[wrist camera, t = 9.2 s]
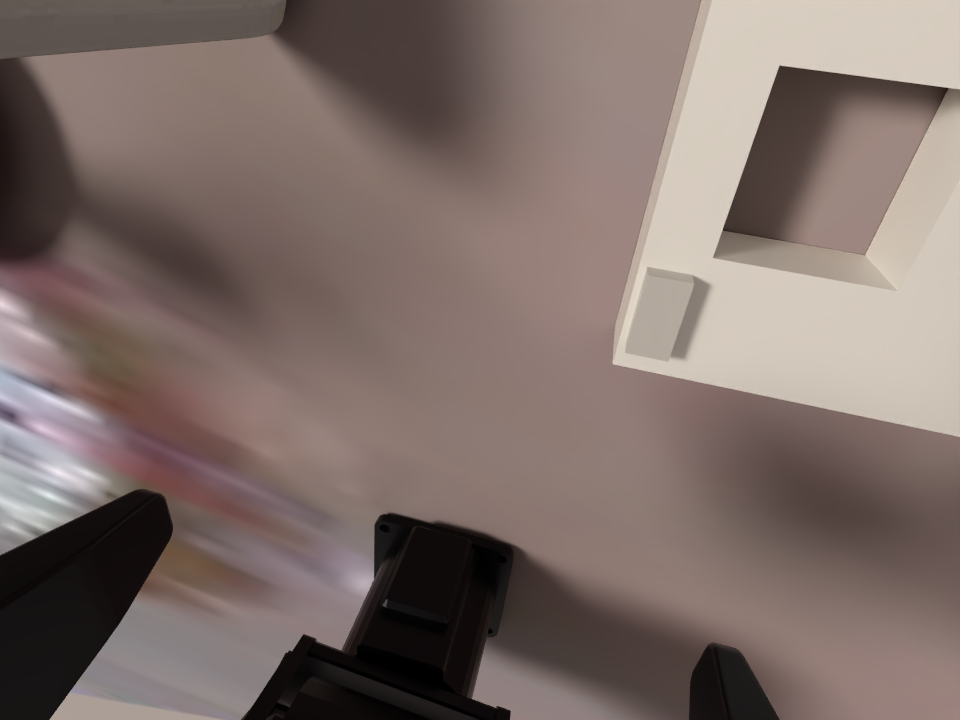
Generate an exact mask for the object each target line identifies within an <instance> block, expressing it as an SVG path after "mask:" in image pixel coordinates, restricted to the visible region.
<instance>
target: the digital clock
mask: <svg viewBox="0 0 960 720" xmlns="http://www.w3.org/2000/svg"><path fill="white" fill-rule="evenodd" d="M286 1H287V0H0V59H6V58H18V57H30V56H41V55H53V54H65V53H77V52H89V51H101V50H113V49H125V48H137V47H149V46H160V45H172V44H184V43H196V42H208V41H220V40H232V39H244V38H252V37H259V36H264V35H267V34H270V33H272V32H273V31H275V30H277V29H278V27H279V26H280V25H281V23H282V22H283V18H284V13H285V7H286Z"/></svg>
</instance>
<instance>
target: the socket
mask: <svg viewBox="0 0 960 720" xmlns="http://www.w3.org/2000/svg"><path fill="white" fill-rule="evenodd" d="M779 65H781V66H788V67H796V68H803V69H811V70H818V71H826V72H833V73H841V74H848V75H856V76H863V77H871V78H878V79H886V80H893V81H901V82H908V83H916V84H923V85H931V86H938V87H946V88H948V90H947V92H946V94H945V96H944V98H943V100H942V102H941V104H940V106H939V108H938V110H937V112H936V114H935V116H934V118H933V120H932V122H931V124H930V126H929V128H928V130H927V132H926V134H925V136H924V138H923V140H922V142H921V144H920V146H919V148H918V150H917V152H916V154H915V156H914V158H913V160H912V162H911V164H910V166H909V168H908V170H907V172H906V174H905V176H904V178H903V180H902V182H901V184H900V186H899V188H898V190H897V192H896V194H895V196H894V198H893V200H892V202H891V204H890V206H889V209H888V211H887V213H886V215H885V217H884V219H883V221H882V223H881V225H880V227H879V229H878V231H877V233H876V235H875V237H874V239H873V241H872V243H871V245H870V247H869V249H868V251H867V253H866V255H860V254H855V253H849V252H843V251H837V250H831V249H826V248H820V247H814V246H808V245H803V244H797V243H791V242H785V241H780V240H774V239H768V238H762V237H756V236H751V235H745V234H739V233H733V232H728V231H722V230H723V227H724V224H725V221H726V219H727V216H728V213H729V210H730V207H731V204H732V201H733V198H734V195H735V193H736V190H737V187H738V184H739V181H740V178H741V175H742V172H743V169H744V167H745V164H746V161H747V158H748V155H749V152H750V149H751V146H752V143H753V140H754V138H755V135H756V132H757V129H758V126H759V123H760V120H761V117H762V114H763V112H764V109H765V106H766V103H767V100H768V97H769V94H770V91H771V88H772V86H773V83H774V80H775V77H776V74H777V71H778V68H779ZM613 364H615V365H620V366H624V367H629V368H634V369H639V370H643V371H648V372H653V373H658V374H662V375H667V376H672V377H677V378H682V379H686V380H691V381H696V382H701V383H705V384H710V385H715V386H720V387H724V388H729V389H734V390H739V391H744V392H748V393H753V394H758V395H763V396H767V397H772V398H777V399H782V400H786V401H791V402H796V403H801V404H806V405H810V406H815V407H820V408H825V409H829V410H834V411H839V412H844V413H848V414H853V415H858V416H863V417H868V418H872V419H877V420H882V421H887V422H891V423H896V424H901V425H906V426H910V427H915V428H920V429H925V430H930V431H934V432H939V433H944V434H949V435H953V436H958V437H960V0H702V1H701V4H700V8H699V12H698V16H697V19H696V23H695V27H694V31H693V34H692V38H691V42H690V46H689V50H688V53H687V57H686V61H685V65H684V68H683V72H682V76H681V80H680V83H679V87H678V91H677V95H676V98H675V102H674V106H673V110H672V114H671V117H670V121H669V125H668V129H667V132H666V136H665V140H664V144H663V147H662V151H661V155H660V159H659V162H658V166H657V170H656V174H655V178H654V181H653V185H652V189H651V193H650V196H649V200H648V204H647V208H646V211H645V215H644V219H643V223H642V227H641V230H640V234H639V238H638V242H637V245H636V249H635V253H634V257H633V260H632V264H631V268H630V272H629V275H628V279H627V283H626V287H625V291H624V294H623V298H622V302H621V306H620V309H619V313H618V317H617V321H616V324H615V336H614V350H613Z"/></svg>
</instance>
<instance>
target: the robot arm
mask: <svg viewBox="0 0 960 720" xmlns="http://www.w3.org/2000/svg"><path fill="white" fill-rule="evenodd" d="M172 532H173V524H172V520H171V516H170V513H169V509H168V505H167V502H166V499H165V497H164V496H163V495H162V494H160V493H157V492H153V491H149V490H145V489H138V490H135V491H132V492H130V493H128V494H126V495H124V496H122V497H120V498H118V499H116V500H113V501H111V502H109V503H107V504H105V505H103V506H101V507H99V508H97V509H95V510H93V511H91V512H89V513H86V514H84V515H82V516H80V517H78V518H76V519H74V520H72V521H70V522H68V523H66V524H64V525H62V526H59V527H57V528H55V529H53V530H51V531H49V532H47V533H45V534H43V535H41V536H39V537H37V538H35V539H33V540H30V541H28V542H26V543H24V544H22V545H20V546H18V547H16V548H14V549H12V550H10V551H8V552H6V553H3V554H1V555H0V720H49V719H50V718H51V717H52V715H53V714H54V712H55V711H56V710H57V708H58V707H59V706H60V704H61V703H62V702H63V700H64V699H65V698H66V696H67V694H68V693H69V692H70V691H71V689H72V688H73V687H74V685H75V684H76V682H77V681H78V680H79V678H80V677H81V676H82V674H83V673H84V672H85V670H86V669H87V667H88V666H89V665H90V663H91V662H92V661H93V659H94V658H95V657H96V655H97V654H98V652H99V651H100V650H101V648H102V647H103V646H104V644H105V643H106V642H107V640H108V639H109V637H110V636H111V635H112V633H113V632H114V630H115V629H116V627H117V626H118V625H119V623H120V622H121V620H122V618H123V617H124V615H125V614H126V612H127V611H128V609H129V607H130V606H131V604H132V602H133V601H134V599H135V597H136V596H137V594H138V592H139V591H140V589H141V587H142V586H143V584H144V582H145V581H146V579H147V577H148V576H149V574H150V572H151V571H152V569H153V567H154V566H155V564H156V562H157V561H158V559H159V557H160V556H161V554H162V552H163V551H164V549H165V547H166V546H167V544H168V542H169V540H170V538H171V536H172ZM501 555H502V556H501ZM513 557H514V552H513V550H512V549H511V548H510V547H508V546H506V545H503V544H499V543H495V542H491V541H487V540H483V539H480V538H476V537H472V536H468V535H464V534H460V533H456V532H453V531H449V530H445V529H441V528H437V527H433V526H430V525H426V524H422V523H418V522H414V521H410V520H406V519H403V518H399V517H395V516H391V515H386V514H383V515H380V516H379V517H378V519H377V521H376V523H375V545H374V581H373V583H372V585H371V587H370V590H369V592H368V594H367V596H366V598H365V600H364V603H363V605H362V607H361V609H360V611H359V614H358V616H357V618H356V620H355V622H354V624H353V627H352V629H351V631H350V633H349V635H348V637H347V640H346V642H345V644H344V646H343V648H342V650H338V649H335V648H333V647H330V646H327V645H325V644H322V643H319V642H317V641H316V638H313V637H310V636H308V635H305V634H303V636H302V637H301V639H300V640H299V642H298V643H297V645H296V646H295V648H294V649H293V651H289V652H288V653H285V655H284V657H283V659H282V661H281V663H280V665H279V666H278V668H277V670H276V671H275V673H274V674H273V676H272V677H271V679H270V680H269V682H268V683H267V685H266V686H265V688H264V689H263V691H262V692H261V694H260V695H259V697H258V698H257V700H256V702H255V703H254V705H253V706H252V707H251V709H250V710H249V711H248V712H247V713H246V714H245V716H244V717H243V718H242V719H241V720H510V712H511V711H510V710H507V709H505V708H502V707H499V706H497V707H496V708H494V707H492V706H489V705H486V704H484V703H481V702H478V701H476V700H473V699H472V696H473V692H474V688H475V684H476V680H477V675H478V671H479V667H480V663H481V659H482V655H483V650H484V646H485V642H486V638H487V637H494V636H496V635H497V633H498V629H499V624H500V619H501V614H502V610H503V605H504V600H505V595H506V590H507V586H508V581H509V576H510V571H511V566H512V561H513ZM689 720H780V719H779V718H778V716H777V714H776V712H775V711H774V709H773V707H772V705H771V703H770V702H769V700H768V698H767V696H766V695H765V693H764V691H763V689H762V688H761V686H760V684H759V682H758V681H757V679H756V677H755V675H754V674H753V672H752V670H751V668H750V667H749V665H748V663H747V661H746V660H745V658H744V656H743V655H742V653H741V652H740V651H739V650H737V649H735V648H733V647H729V646H725V645H722V644H718V643H710V644H708V646H707V647H706V649H705V650H704V652H703V654H702V656H701V658H700V659H699V661H698V663H697V665H696V667H695V668H694V670H693V673H692V676H691V682H690V706H689Z"/></svg>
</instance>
